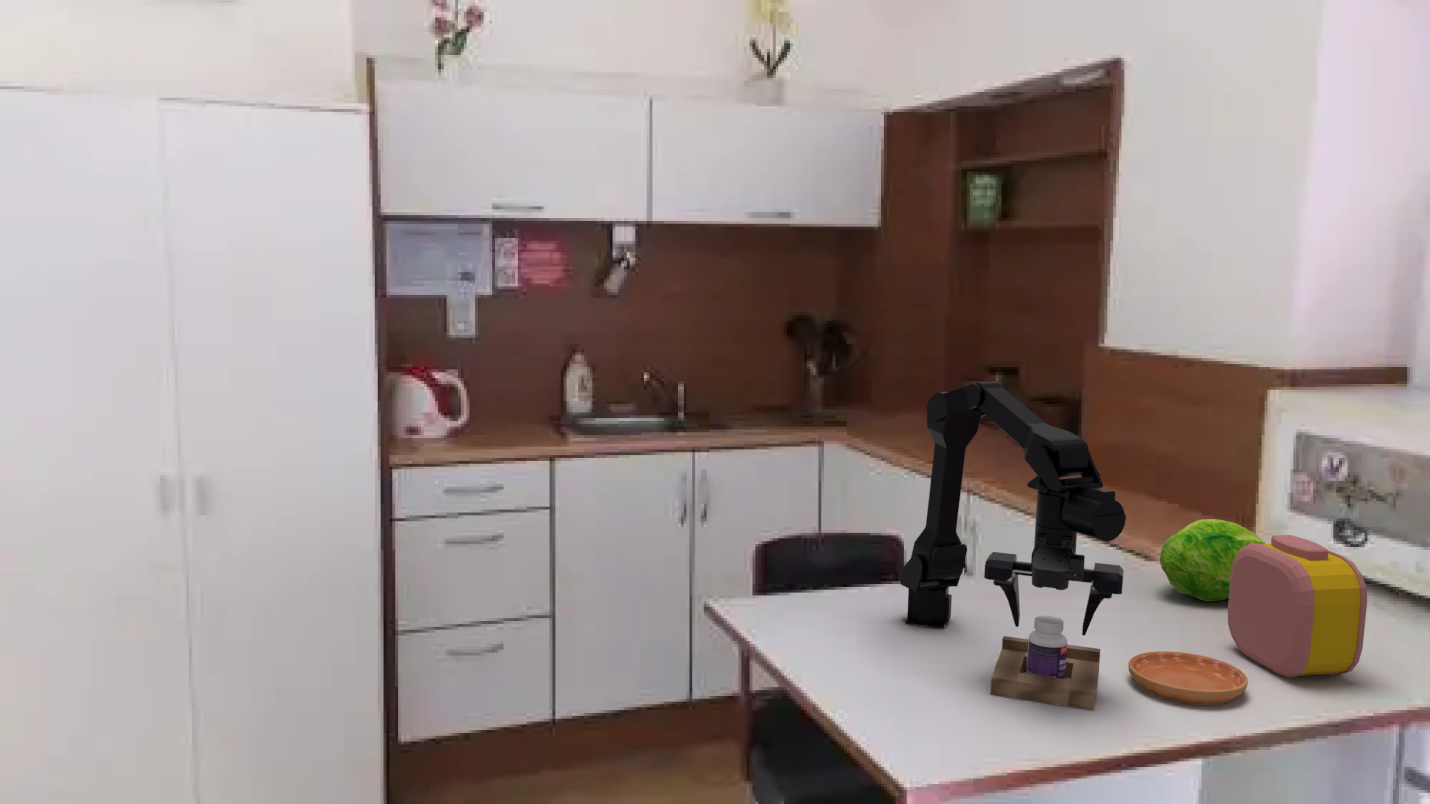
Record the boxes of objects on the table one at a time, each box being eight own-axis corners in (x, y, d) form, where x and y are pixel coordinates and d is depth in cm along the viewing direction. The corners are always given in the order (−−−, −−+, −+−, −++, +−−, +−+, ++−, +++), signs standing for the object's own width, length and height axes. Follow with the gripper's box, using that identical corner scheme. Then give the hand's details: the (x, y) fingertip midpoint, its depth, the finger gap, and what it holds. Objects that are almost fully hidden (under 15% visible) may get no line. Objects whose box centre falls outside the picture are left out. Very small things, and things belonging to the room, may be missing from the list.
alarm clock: (1364, 686, 165) (1377, 558, 162) (1296, 690, 163) (1308, 560, 160) (1281, 642, 183) (1291, 526, 180) (1219, 645, 181) (1229, 527, 178)
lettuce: (1213, 571, 220) (1285, 604, 206) (1131, 586, 209) (1202, 622, 196) (1228, 500, 216) (1302, 529, 203) (1145, 512, 205) (1218, 544, 192)
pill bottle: (1066, 693, 160) (1070, 627, 159) (1027, 689, 161) (1031, 624, 160) (1062, 679, 166) (1066, 615, 164) (1024, 675, 167) (1028, 612, 165)
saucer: (1112, 667, 171) (1113, 648, 171) (1218, 670, 171) (1220, 651, 171) (1149, 710, 156) (1151, 689, 155) (1266, 713, 155) (1268, 692, 155)
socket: (990, 694, 159) (991, 667, 159) (1002, 661, 172) (1003, 636, 172) (1094, 710, 155) (1096, 682, 154) (1098, 674, 167) (1100, 649, 167)
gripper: (981, 530, 156) (976, 639, 158) (1125, 545, 149) (1117, 658, 151) (991, 513, 166) (986, 615, 168) (1126, 526, 160) (1119, 632, 162)
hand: (1050, 630), depth 162 cm, fingers open, 9 cm apart
